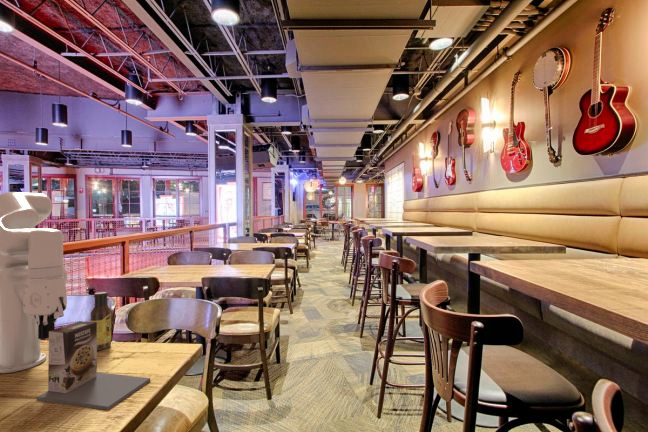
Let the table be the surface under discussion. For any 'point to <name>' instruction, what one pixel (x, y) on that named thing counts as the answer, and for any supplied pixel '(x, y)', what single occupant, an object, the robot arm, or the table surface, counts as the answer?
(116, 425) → the table surface
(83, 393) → the rubber mat
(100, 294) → the sauce bottle
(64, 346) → the coffee box
